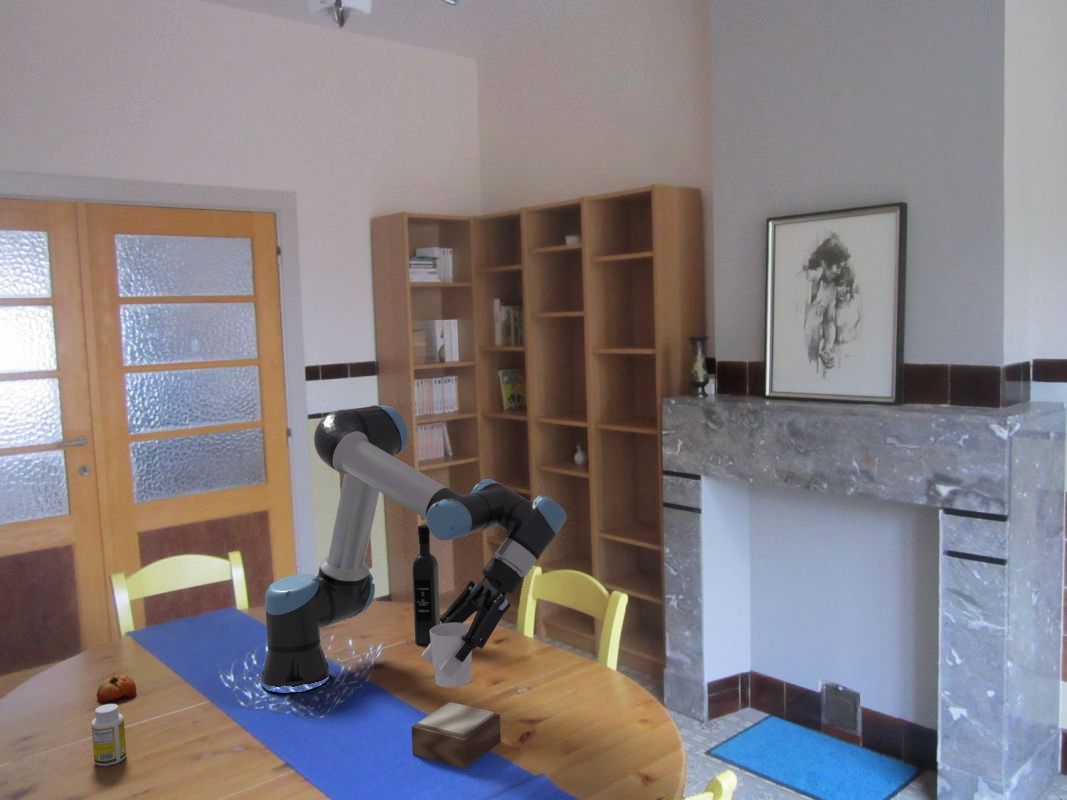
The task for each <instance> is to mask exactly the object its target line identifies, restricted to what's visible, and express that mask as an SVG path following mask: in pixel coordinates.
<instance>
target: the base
mask: <svg viewBox="0 0 1067 800" xmlns="http://www.w3.org/2000/svg"><path fill="white" fill-rule="evenodd" d="M501 735H502V734H501V714H500V713H495V712H494V711H491V710H486V709H483V708H478V707H473V706H468V705H465V704H460V703H456V702H452V701H449V702H448V703H446V704H444V705H442V706H441V707H439V708H438V709H436V710H435V711H433V712H432V713H430V714H429V715H427V716H426V717H424V718H422V719H421V720H419V721H418V722H417V723H415V724H414V725H412V726H411V742H412V743H411V747H412V748H411V749H412V755H414V756H416V757H419V758H420V757H421V758H424V759H427V760H431V761H435V762H438V763H442V764H445V765H449V766H453V767H457V768H460V769H465V770H466V769H467V768H468V767H470V766H471V765H472V764H474V763H475V762H477V760H479V759H480V758H482V757H483V756H485V754H487V753H488V752H489V751H490V750H492V749H493V748H494V747H496V746H497V745H498V744H499V743H501V742H502V740H501V739H502V738H501V737H502V736H501Z"/></svg>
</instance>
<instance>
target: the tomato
mask: <svg viewBox="0 0 1067 800" xmlns="http://www.w3.org/2000/svg"><path fill="white" fill-rule="evenodd" d="M136 685H137V684H136V683H135V681H134V680H133V679H132V678H131V677H129V676H128V675H121V674H118V675H112V676H111V677H107V678H106V679H104V680H103V681H102V682H101V683H100V684H99V686H98V689H97V692H96V698H97V701H98V702H99V703H104V702H106V701H108V700H111V701H112V700H117V699H119V698H120V697H123V696H127V697H128V698H127V700H130V699H131V698H132V697H134V696H137V686H136Z"/></svg>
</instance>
